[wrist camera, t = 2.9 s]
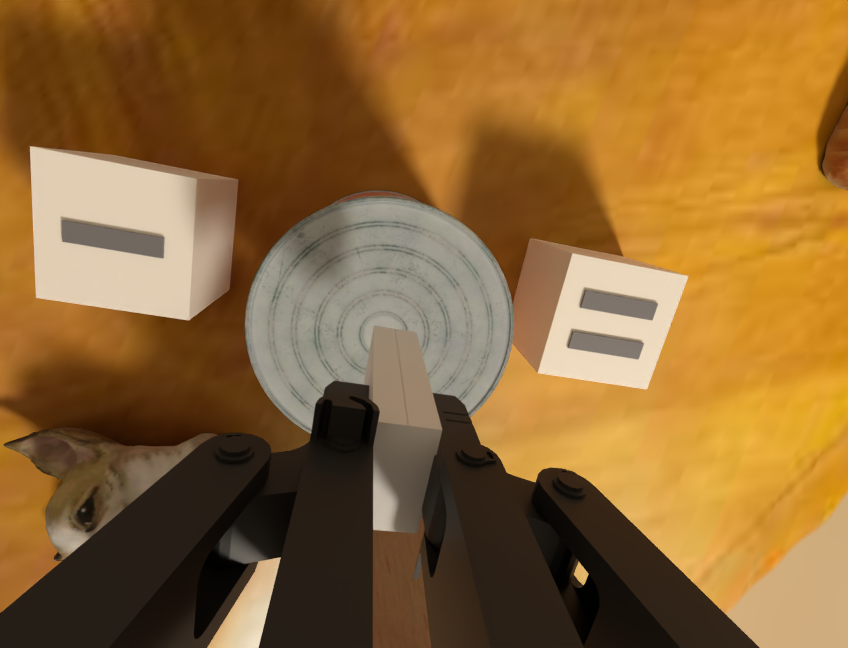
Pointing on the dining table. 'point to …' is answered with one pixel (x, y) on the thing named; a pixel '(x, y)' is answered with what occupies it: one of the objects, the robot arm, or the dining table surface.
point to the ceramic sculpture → (94, 478)
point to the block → (398, 591)
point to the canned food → (377, 301)
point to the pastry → (838, 154)
